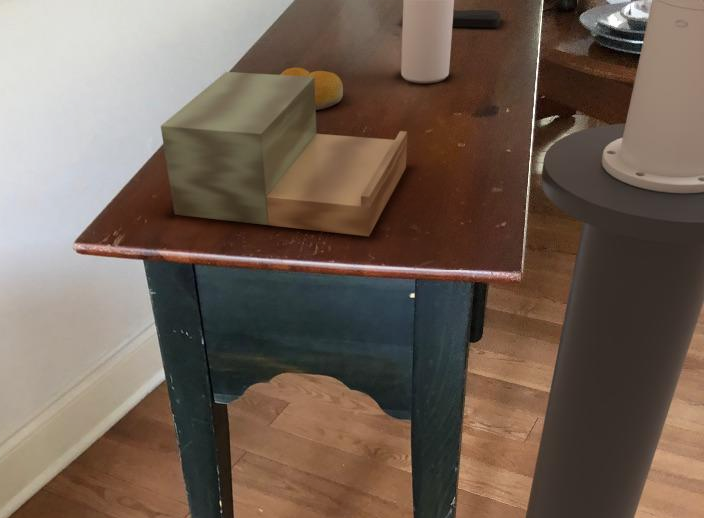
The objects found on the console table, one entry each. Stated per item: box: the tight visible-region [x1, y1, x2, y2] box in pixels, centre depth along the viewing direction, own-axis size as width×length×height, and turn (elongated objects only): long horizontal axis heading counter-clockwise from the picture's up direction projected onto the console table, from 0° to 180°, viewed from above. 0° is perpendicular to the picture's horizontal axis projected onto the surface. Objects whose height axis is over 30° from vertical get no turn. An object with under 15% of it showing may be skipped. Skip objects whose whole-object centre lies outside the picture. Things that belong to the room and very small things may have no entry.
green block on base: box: [160, 71, 408, 237], centre depth 80 cm, size 20×16×9 cm
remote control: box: [452, 9, 501, 29], centre depth 128 cm, size 5×2×15 cm
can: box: [400, 0, 455, 85], centre depth 105 cm, size 6×6×12 cm
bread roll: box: [280, 66, 344, 111], centre depth 102 cm, size 8×9×4 cm
